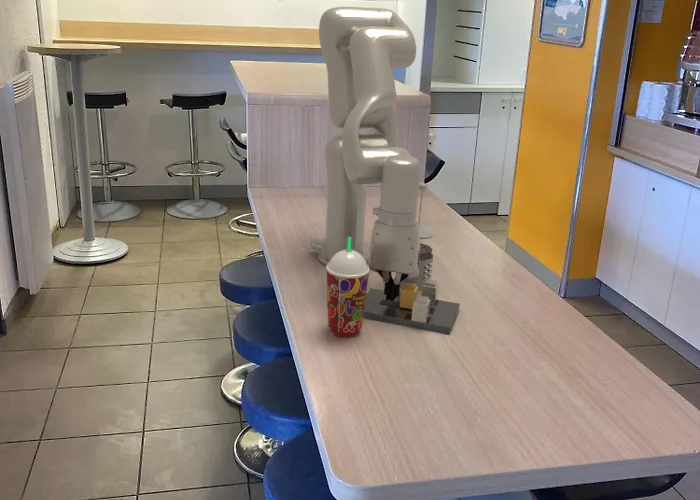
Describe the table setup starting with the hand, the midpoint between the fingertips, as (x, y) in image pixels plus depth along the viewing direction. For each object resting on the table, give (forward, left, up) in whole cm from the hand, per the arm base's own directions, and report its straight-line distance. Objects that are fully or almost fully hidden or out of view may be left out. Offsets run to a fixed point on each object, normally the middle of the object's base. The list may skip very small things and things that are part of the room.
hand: (391, 298), depth 144 cm
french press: (+2, +13, -3) cm, 14 cm away
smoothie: (-6, -13, -3) cm, 15 cm away
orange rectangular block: (+4, 0, -1) cm, 4 cm away
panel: (+4, 0, -3) cm, 5 cm away
